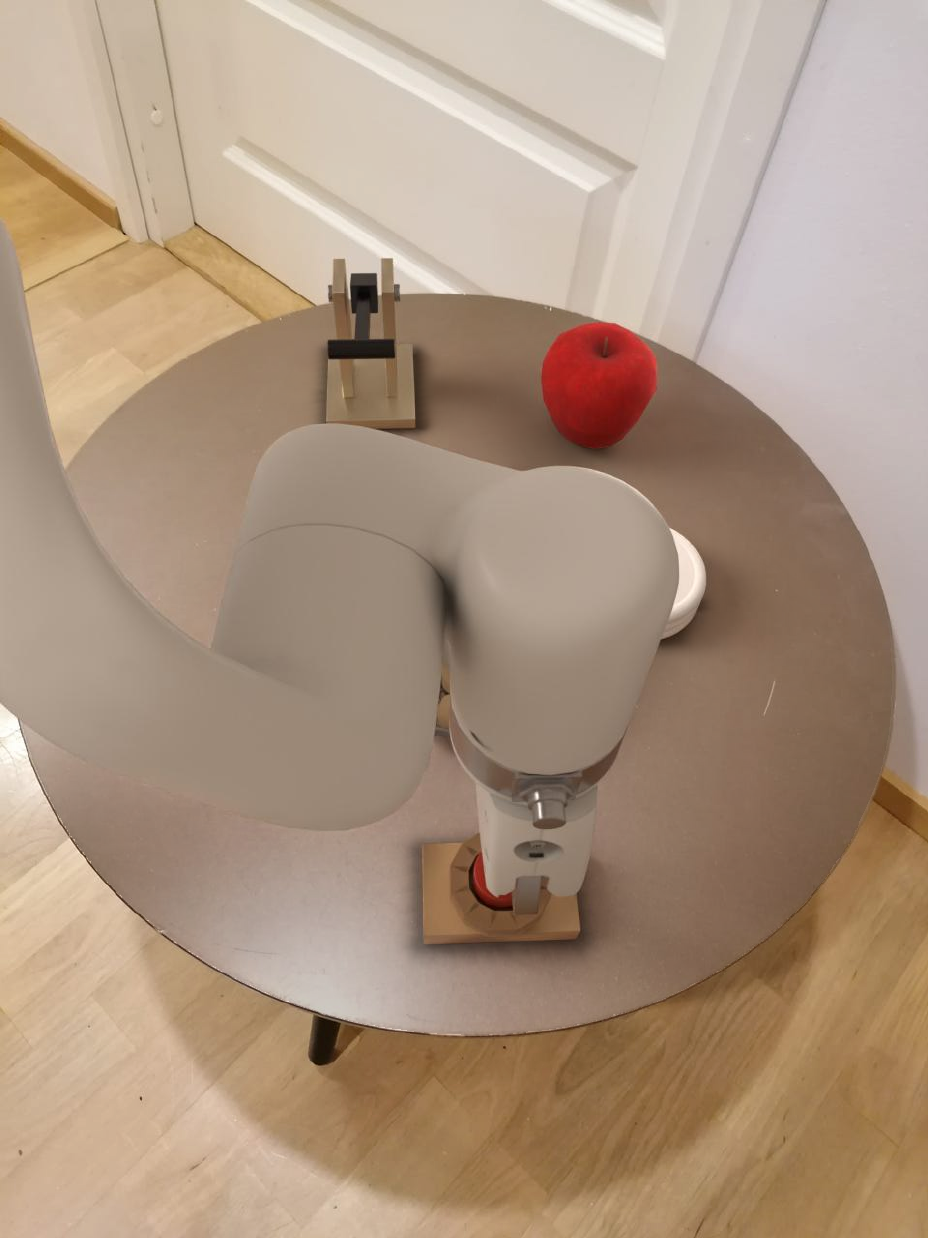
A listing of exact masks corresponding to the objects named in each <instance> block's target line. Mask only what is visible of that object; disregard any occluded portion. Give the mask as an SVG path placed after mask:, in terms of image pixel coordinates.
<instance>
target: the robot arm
mask: <svg viewBox="0 0 928 1238" xmlns="http://www.w3.org/2000/svg"><path fill="white" fill-rule="evenodd" d="M25 292H26V291H25V286H24V279H23V272H22V267H21V263H20V260H19V256H18V251H17V247H16V245H15V242H14V240H13V237H12V235H11V232H10V231H9V229H8V227H7V225H6V223H5V221H4V220H3V218H2V217H1V216H0V705H2V706H3V707H4V708H5V709H6V710H7V711H8V712H9V713H10V714H12V715H13V716H14V717H15V718H17V719H18V721H20V722H22V723H23V724H24V725H25V726H26V727H28V728H29V729H30V730H32V731H33V732H35V733H36V734H38V735H39V736H40V737H42V738H43V739H45V740H46V741H47V742H49V743H50V744H52V745H54V746H55V747H57V748H59V749H61V750H63V751H64V752H66V753H67V754H69V755H72V756H73V757H76V758H78V759H80V760H81V761H83V762H86V763H88V764H90V765H93V766H95V767H97V768H100V769H102V770H103V771H107V772H110V773H112V774H115V775H118V776H120V777H123V778H127V779H130V780H133V781H136V782H138V783H141V784H144V785H147V786H150V787H153V788H157V789H159V790H161V791H165V792H168V793H170V794H173V795H175V796H178V797H181V798H184V799H186V800H189V801H192V802H195V803H197V804H198V803H199V804H201V805H204V806H206V807H207V806H208V807H210V808H213V809H217V810H219V811H223V812H226V813H229V814H233V815H236V816H239V817H242V818H245V819H249V820H254V821H258V822H263V823H265V824H266V823H267V824H270V825H274V826H279V827H283V828H288V829H295V830H305V831H315V832H333V831H335V832H336V831H349V830H354V829H357V828H362V827H367V826H371V825H374V824H375V823H378V822H380V821H381V820H384V819H386V818H388V817H390V816H391V815H393V814H395V813H396V812H397V811H398V810H400V808H402V806H404V805H405V804H406V803H407V802H408V801H409V800H410V799H411V798H412V797H413V796H414V794H415V792H416V791H417V790H418V788H419V786H420V784H421V783H422V781H423V779H424V777H425V774H426V773H427V770H428V768H429V765H430V761H431V757H432V754H433V748H434V740H435V736H434V733H435V727H436V724H437V718H438V717H437V709H438V706H439V700H440V697H439V691H440V682H441V670H442V658H443V646H444V636H445V637H446V639H447V640H448V641H449V643H450V646H451V650H450V720H449V729H450V738H451V739H450V742H452V743H451V745H452V749H453V752H454V755H455V757H456V759H457V761H458V763H459V765H460V766H461V768H462V769H463V770H464V772H465V773H466V774H467V776H469V777H470V779H471V780H472V781H473V782H474V783H475V795H476V796H475V797H476V808H477V809H476V810H477V818H478V819H477V820H478V830H479V831H478V832H479V833H480V840H481V848H482V856H483V864H484V872H485V879H486V887H487V889H488V890H489V891H490V892H491V893H492V894H493V895H494V896H496V897H499V895H506V894H508V893H510V892H512V903H513V913H514V915H527V914H538V908H539V900H540V892H541V884H542V876H543V877H544V878H548V882H547V890H548V891H549V892H550V893H552V894H553V895H554V896H556V897H564V896H571V895H575V894H576V893H577V894H578V892H579V891H580V889H581V888H582V885H583V883H584V880H585V878H586V877H585V876H586V873H587V869H588V865H589V861H590V858H591V853H592V848H593V843H594V838H595V833H596V832H595V831H596V822H597V810H598V786H599V785H600V783H601V782H603V781H604V779H605V778H606V777H607V775H608V773H609V772H610V771H611V769H612V767H613V765H614V763H615V761H616V759H617V757H618V754H619V751H620V749H621V746H622V744H623V740H624V738H625V735H626V734H627V733H626V732H627V730H628V727H629V725H630V722H631V719H632V717H633V714H634V712H635V710H636V709H635V708H636V706H637V704H638V701H639V698H640V696H641V693H642V691H643V688H644V685H645V682H646V680H647V678H648V674H649V673H650V669H651V667H652V664H653V661H654V658H655V657H656V653H657V651H658V649H659V645H660V643H661V640H662V639H661V638H662V635H663V633H664V630H665V627H666V625H667V622H668V619H669V617H670V614H671V611H672V608H673V605H674V601H675V597H676V594H677V589H678V585H679V559H678V552H677V549H676V545H675V542H674V538H673V535H672V533H671V531H670V529H669V528H670V527H669V524H668V523H667V521H666V519H665V518H664V516H663V515H662V514H661V512H660V511H659V510H658V509H657V508H656V506H655V505H654V504H653V503H652V502H651V501H650V500H649V498H647V497H646V496H645V495H644V494H643V493H642V492H640V491H639V490H638V489H637V488H635V487H633V486H632V485H630V484H628V483H627V482H625V481H624V480H622V479H620V478H618V477H615V476H613V475H611V474H608V473H606V472H602V471H599V470H596V469H592V468H588V467H581V466H575V465H550V466H542V467H536V468H532V469H528V470H518V469H514V468H511V467H506V466H503V465H499V464H496V463H492V462H488V461H484V460H481V459H476V458H473V457H470V456H466V455H464V454H460V453H456V452H453V451H451V450H447V449H443V448H441V447H437V446H434V445H431V444H427V443H424V442H421V441H418V440H414V439H412V438H409V437H406V436H402V435H399V434H395V433H392V432H388V431H383V430H382V429H372V428H367V427H363V426H356V425H347V424H339V423H328V424H327V423H315V424H314V423H313V424H308V425H305V426H299V427H297V428H293V429H292V430H290V431H288V432H286V433H284V434H283V435H281V436H280V437H278V438H277V439H276V440H275V441H274V442H273V443H271V444H270V445H269V447H268V448H267V449H266V450H265V452H264V453H263V455H262V457H261V458H260V460H259V462H258V464H257V465H256V468H255V472H254V474H253V477H252V479H251V482H250V488H249V490H248V494H247V498H246V502H245V506H244V511H243V515H242V519H241V524H240V528H239V533H238V536H237V539H236V540H237V541H236V545H235V549H234V553H233V557H232V562H231V565H230V568H229V570H228V571H229V572H228V576H227V579H226V583H225V587H224V591H223V594H222V599H221V602H220V606H219V611H218V615H217V619H216V623H215V628H214V632H213V636H212V639H211V644H210V647H209V646H207V645H206V644H205V643H202V642H201V641H199V640H197V639H196V638H194V637H192V636H190V635H189V634H187V632H185V631H184V630H182V629H181V628H180V627H179V626H177V625H176V624H175V623H174V622H173V621H171V620H170V619H169V618H167V617H166V616H165V615H164V614H162V613H161V612H160V611H158V610H157V609H156V608H155V606H153V605H152V604H151V603H150V602H149V601H148V599H147V598H145V596H144V595H143V594H142V593H141V592H140V591H139V590H138V589H137V588H136V587H135V586H134V585H133V584H132V583H131V581H129V580H128V579H127V578H126V576H125V575H124V574H123V572H122V571H121V569H120V568H119V567H118V565H117V564H116V563H115V561H114V560H113V559H112V558H111V556H110V554H108V552H107V550H106V549H105V548H104V547H103V545H102V544H101V542H100V540H99V539H98V537H97V534H96V533H95V530H94V529H93V527H92V526H91V524H90V521H89V520H88V518H87V516H86V515H85V513H84V511H83V509H82V507H81V506H80V503H79V501H78V499H77V496H76V493H75V491H74V489H73V486H72V484H71V481H70V479H69V477H68V474H67V472H66V469H65V467H64V464H63V460H62V458H61V454H60V451H59V447H58V444H57V442H56V438H55V435H54V431H53V428H52V424H51V419H50V415H49V410H48V405H47V401H46V396H45V391H44V387H43V381H42V377H41V372H40V367H39V363H38V357H37V353H36V347H35V344H34V338H33V337H34V336H33V331H32V326H31V320H30V315H29V310H28V304H27V297H26V293H25Z"/></svg>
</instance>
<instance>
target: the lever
mask: <svg viewBox="0 0 928 1238" xmlns="http://www.w3.org/2000/svg"><path fill="white" fill-rule="evenodd" d="M349 294H350V310H351V311H350V312H351V314H354V315H355V319H354V320H355V321H354V334H353V335H354V337H353V338H352V339H340V340H337V339H328V340H327V341H326V345H327V346H326V347H327V359H328V358H329V359H330V360H335V359H394V358H395V340H394V339H384V338H371V314H378V313H379V287H378V273H377V272H352V273H350V279H349Z"/></svg>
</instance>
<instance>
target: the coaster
mask: <svg viewBox="0 0 928 1238" xmlns="http://www.w3.org/2000/svg"><path fill="white" fill-rule="evenodd" d="M669 529H670V531H671V533H672V535H673V538H674V542H675V545H676V549H677V552H678V559H679V585H678V589H677V594H676V597H675V601H674V605H673V608H672V611H671V614H670V617H669V619H668V622H667V625H666V627H665V630H664V633H663V635H662V638H661V640H664V639H667V638H669V637H670V638H671V636H674V635H676V634H678V633H679V632H680V631H682V630H684V628H686V627H687V626H688V625H689V624H690V622H691V621H692V620H693V619H694V617H695V615H696V613H697V611H698V608H699V606H700V604H701V601H702V599H703V597H704V594H705V592H706V588H707V587H706V586H707V572H706V567H705V563H704V561H703V559H702V557H701V555H700V553H699V551H698V550H697V548H696V547H695V546H694V545H693V544H692V542H691V541H689V540H688V538H687V537H685V536H684V535H682V534H681V533H680V532H678V531H676V530H674V529H672V528H671V527H669Z"/></svg>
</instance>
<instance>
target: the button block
mask: <svg viewBox="0 0 928 1238" xmlns="http://www.w3.org/2000/svg"><path fill="white" fill-rule="evenodd" d="M481 852H482V848H481V840H480V832H478V833H476V834H474V835H473V836H471V837H469V838H468V839H466V840H465V841H463V842H447V843H446V842H445V843H443V842H442V843H422V844H421V863H422V865H421V866H422V871H421V873H422V927H423V928H422V929H423V930H422V931H423V932H422V933H423V934H422V935H423V945H441V944H442V945H443V944H473V943H502V942H503V943H504V942H509V943H510V942H535V941H536V942H539V941H540V942H541V941H566V940H569V941H570V940H577V938H578V936H579V934H580V932H581V923H580V922H581V921H580V914H579V913H580V912H579V904H578V892H577V893H576V894H575V895H571V896H564V897H556V896H554V895H553V894H552V893H550V892H549V891H548V890H547V882H548V878H544V877H543V876H542V884H541V892H540V900H539V908H538V914H527V915H514V913H513V906H510V907H506V908H498V907H493V906H491V905H488V904H487V903H485V902H484V901H483V900H482V899H481V898H480V897H479V896H478V895H477V893H476V891H475V889H474V885H473V872H474V865H475V862H476V859H477V857H478V856H479V854H480V853H481Z"/></svg>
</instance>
